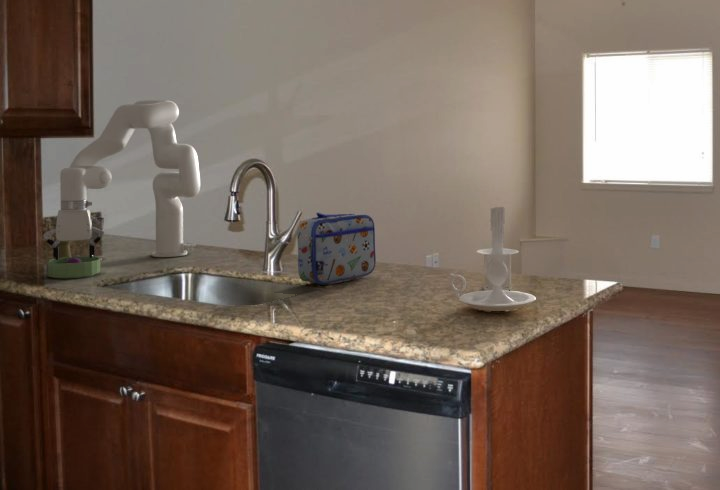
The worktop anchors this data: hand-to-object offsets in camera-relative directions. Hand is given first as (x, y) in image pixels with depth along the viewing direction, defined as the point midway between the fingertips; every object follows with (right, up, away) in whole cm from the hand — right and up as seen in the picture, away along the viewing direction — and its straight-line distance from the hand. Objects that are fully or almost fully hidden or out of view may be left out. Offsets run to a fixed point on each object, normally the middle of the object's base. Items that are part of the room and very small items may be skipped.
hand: (74, 258), depth 257 cm
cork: (-12, -5, +15) cm, 20 cm away
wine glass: (-11, -5, +31) cm, 33 cm away
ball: (0, -2, 0) cm, 2 cm away
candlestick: (+136, -8, -45) cm, 144 cm away
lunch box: (+87, -6, -7) cm, 87 cm away
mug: (+137, -7, -19) cm, 139 cm away
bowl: (0, -5, 0) cm, 6 cm away
